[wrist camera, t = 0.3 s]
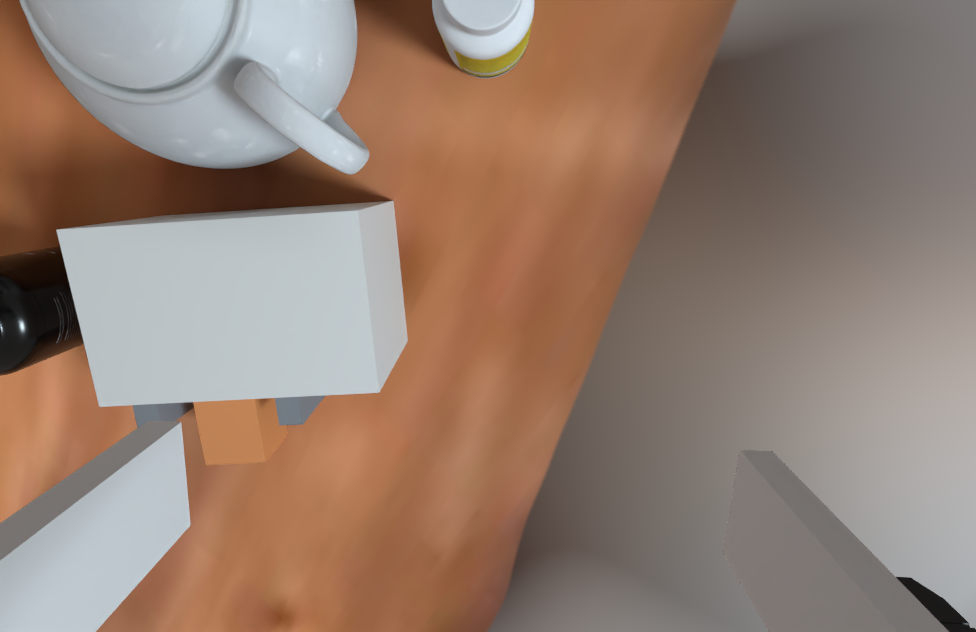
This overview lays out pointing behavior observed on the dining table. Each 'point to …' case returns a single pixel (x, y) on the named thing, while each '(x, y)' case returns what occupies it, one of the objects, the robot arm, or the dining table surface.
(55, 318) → the supplement bottle
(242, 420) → the block
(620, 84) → the dining table surface
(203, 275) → the box
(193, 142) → the teapot
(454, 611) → the dining table surface
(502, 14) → the supplement bottle
